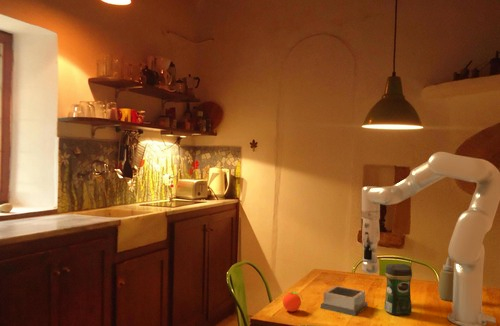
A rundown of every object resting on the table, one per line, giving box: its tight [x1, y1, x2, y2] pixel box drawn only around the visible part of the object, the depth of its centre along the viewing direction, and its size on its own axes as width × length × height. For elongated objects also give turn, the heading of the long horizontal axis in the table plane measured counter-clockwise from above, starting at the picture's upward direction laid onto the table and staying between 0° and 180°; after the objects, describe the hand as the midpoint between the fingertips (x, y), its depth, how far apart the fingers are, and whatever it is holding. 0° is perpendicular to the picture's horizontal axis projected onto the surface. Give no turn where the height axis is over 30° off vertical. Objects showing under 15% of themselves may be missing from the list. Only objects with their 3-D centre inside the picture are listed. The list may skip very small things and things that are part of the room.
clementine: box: [282, 292, 303, 313], centre depth 161 cm, size 8×7×7 cm
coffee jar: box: [384, 263, 413, 316], centre depth 163 cm, size 10×8×19 cm
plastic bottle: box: [361, 237, 379, 274], centre depth 179 cm, size 6×7×20 cm
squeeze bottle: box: [437, 256, 454, 302], centre depth 182 cm, size 8×8×18 cm
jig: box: [320, 285, 368, 317], centre depth 167 cm, size 14×14×6 cm
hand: (370, 257), depth 179 cm, fingers closed on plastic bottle, 5 cm apart
